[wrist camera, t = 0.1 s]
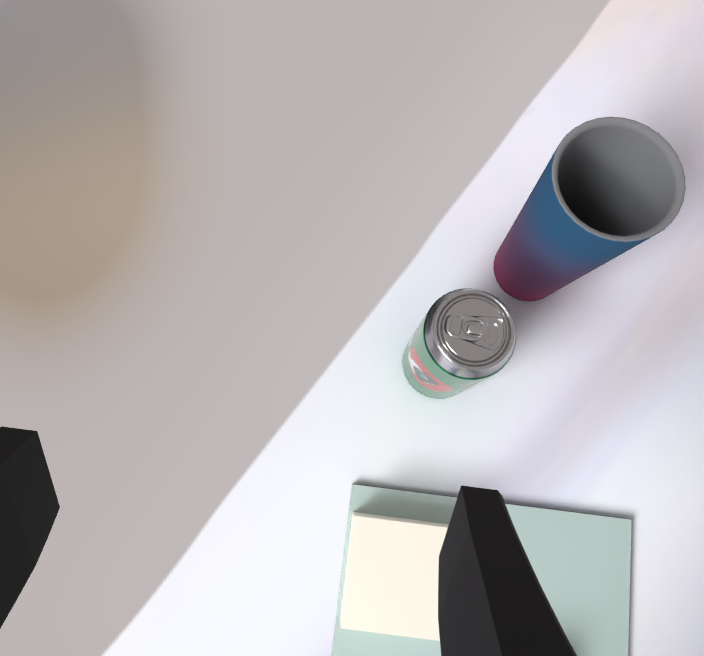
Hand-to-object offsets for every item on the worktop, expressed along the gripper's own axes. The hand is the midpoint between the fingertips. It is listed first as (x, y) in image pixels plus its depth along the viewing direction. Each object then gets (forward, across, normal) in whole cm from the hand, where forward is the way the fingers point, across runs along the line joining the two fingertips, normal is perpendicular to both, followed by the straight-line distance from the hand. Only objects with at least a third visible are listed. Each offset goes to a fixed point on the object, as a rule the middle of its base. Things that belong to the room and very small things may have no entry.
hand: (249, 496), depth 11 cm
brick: (+16, -6, +27) cm, 33 cm away
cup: (+34, -14, +14) cm, 39 cm away
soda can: (+28, -8, +19) cm, 34 cm away
